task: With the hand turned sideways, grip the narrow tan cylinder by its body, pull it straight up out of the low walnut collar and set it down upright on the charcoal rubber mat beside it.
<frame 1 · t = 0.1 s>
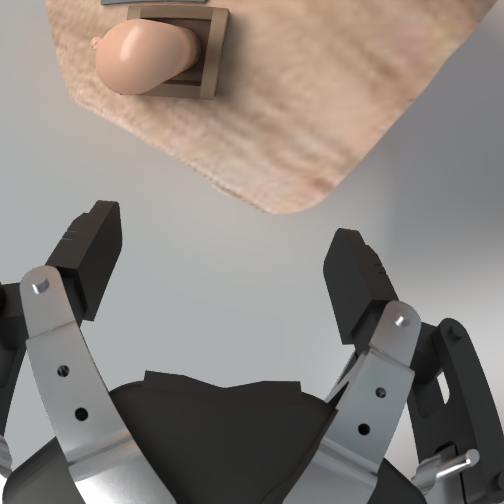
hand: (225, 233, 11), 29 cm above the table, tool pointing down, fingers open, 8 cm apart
walnut collar: (176, 49, 29), on the table
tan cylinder: (148, 48, 23), in the walnut collar
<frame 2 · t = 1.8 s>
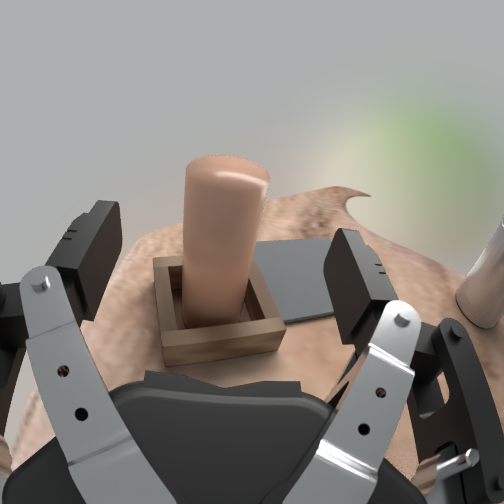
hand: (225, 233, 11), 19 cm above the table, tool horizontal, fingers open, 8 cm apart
walnut collar: (211, 314, 31), on the table
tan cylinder: (218, 247, 27), in the walnut collar
charcoal mat: (306, 275, 38), on the table
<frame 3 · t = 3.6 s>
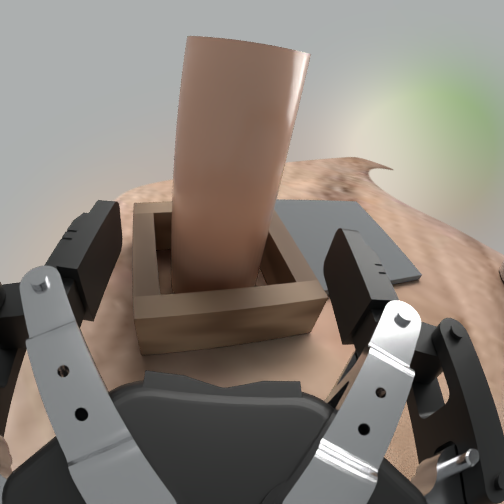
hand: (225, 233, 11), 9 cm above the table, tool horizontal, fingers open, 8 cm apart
walnut collar: (212, 282, 22), on the table
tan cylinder: (226, 173, 18), in the walnut collar
charcoal mat: (337, 240, 29), on the table
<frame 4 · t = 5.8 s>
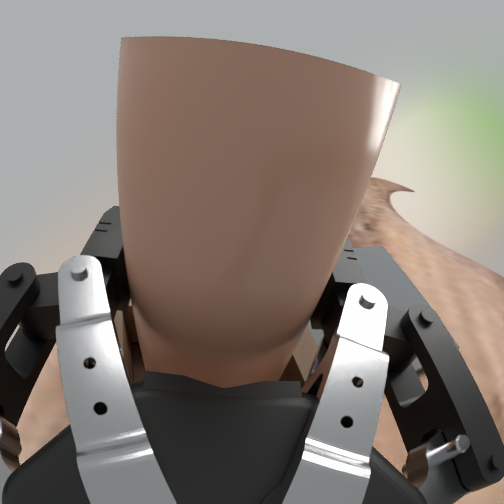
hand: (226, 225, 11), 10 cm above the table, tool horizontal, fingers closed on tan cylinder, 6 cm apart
walnut collar: (208, 394, 15), on the table
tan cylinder: (221, 277, 11), in the walnut collar, touching gripper
charcoal mat: (364, 309, 23), on the table
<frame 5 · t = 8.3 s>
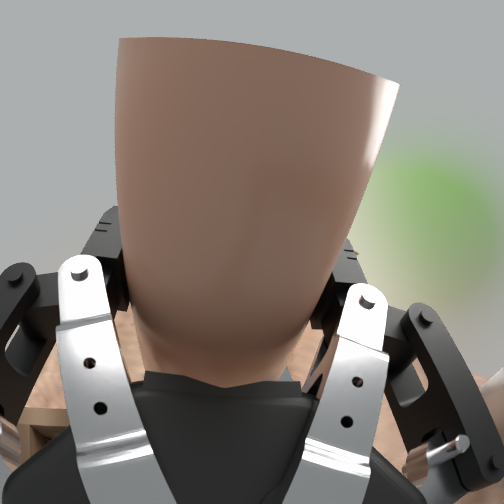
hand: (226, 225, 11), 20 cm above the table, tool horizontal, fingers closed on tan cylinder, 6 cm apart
walnut collar: (92, 481, 16), on the table
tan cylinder: (220, 277, 11), point 18 cm above the table, touching gripper
when the fingers open (11 cm above the table, at t = 11.2 s): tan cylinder drops 1 cm, resting on charcoal mat.
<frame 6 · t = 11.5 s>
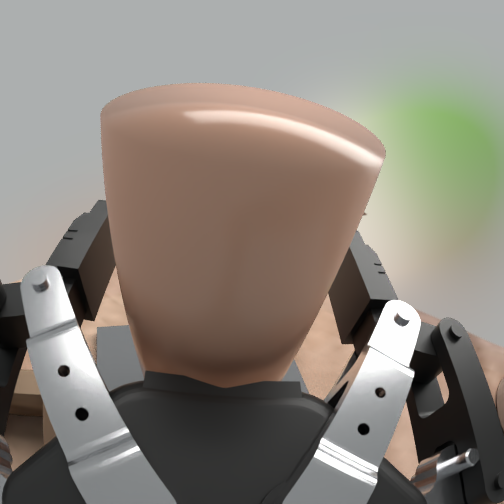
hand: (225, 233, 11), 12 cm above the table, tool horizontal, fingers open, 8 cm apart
walnut collar: (13, 471, 10), on the table
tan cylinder: (215, 308, 12), on the charcoal mat, point 9 cm above the table
charcoal mat: (205, 408, 17), on the table
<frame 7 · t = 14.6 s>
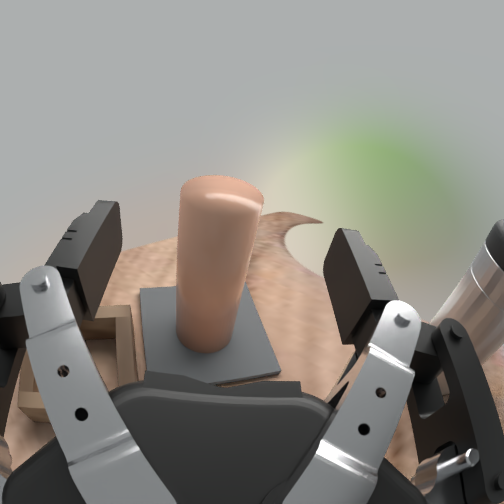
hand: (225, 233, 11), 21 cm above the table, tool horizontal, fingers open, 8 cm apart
walnut collar: (84, 372, 25), on the table
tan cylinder: (211, 265, 28), on the charcoal mat, point 9 cm above the table
charcoal mat: (203, 331, 32), on the table
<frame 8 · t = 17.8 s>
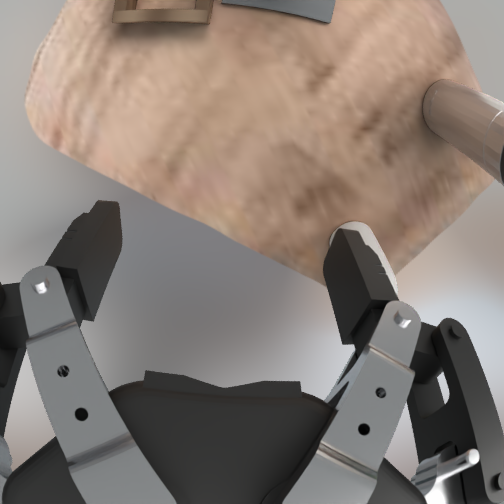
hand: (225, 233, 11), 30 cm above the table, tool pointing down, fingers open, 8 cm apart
milk bottle: (350, 238, 50), on the table
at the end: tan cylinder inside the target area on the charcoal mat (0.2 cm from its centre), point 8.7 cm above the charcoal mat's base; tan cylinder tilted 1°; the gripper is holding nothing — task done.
